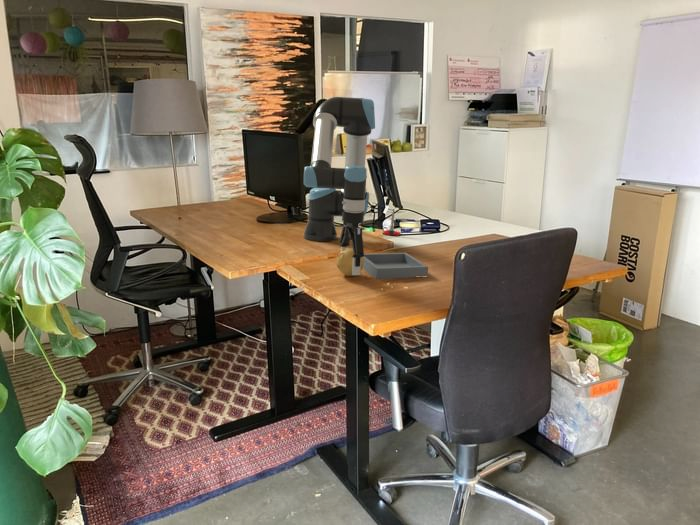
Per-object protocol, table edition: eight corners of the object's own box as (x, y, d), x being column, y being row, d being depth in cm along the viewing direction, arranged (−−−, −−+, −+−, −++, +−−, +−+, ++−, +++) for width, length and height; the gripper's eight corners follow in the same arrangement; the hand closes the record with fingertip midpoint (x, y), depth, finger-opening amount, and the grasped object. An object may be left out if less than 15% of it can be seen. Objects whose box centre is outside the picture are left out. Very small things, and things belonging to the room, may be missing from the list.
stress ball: (365, 278, 199) (359, 255, 204) (368, 263, 190) (361, 240, 195) (339, 282, 197) (332, 260, 202) (340, 268, 188) (334, 244, 194)
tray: (357, 263, 213) (358, 254, 212) (405, 262, 219) (405, 252, 218) (376, 279, 195) (376, 268, 194) (427, 277, 201) (428, 266, 200)
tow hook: (384, 232, 274) (382, 235, 266) (386, 206, 272) (384, 208, 263) (400, 233, 273) (399, 236, 264) (403, 207, 271) (402, 210, 262)
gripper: (332, 204, 201) (330, 260, 207) (354, 218, 179) (350, 280, 184) (352, 204, 204) (348, 259, 209) (376, 217, 181) (371, 279, 187)
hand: (349, 269), depth 197 cm, fingers open, 13 cm apart
